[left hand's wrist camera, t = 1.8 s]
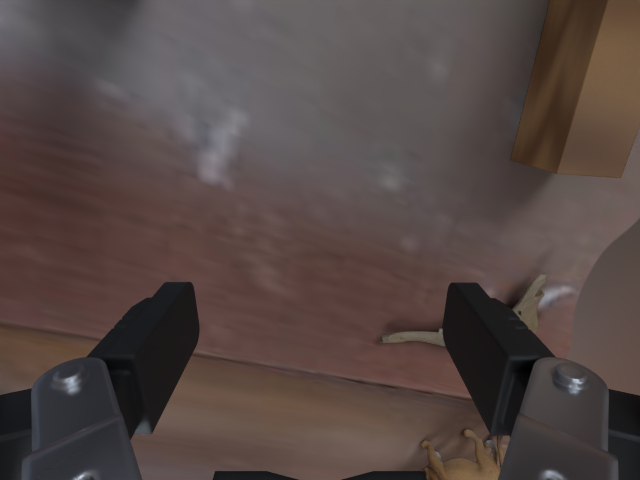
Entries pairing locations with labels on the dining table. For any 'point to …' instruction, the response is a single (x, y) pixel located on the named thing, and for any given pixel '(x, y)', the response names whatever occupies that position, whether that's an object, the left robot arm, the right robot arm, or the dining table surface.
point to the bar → (583, 90)
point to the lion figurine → (466, 462)
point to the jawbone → (523, 309)
